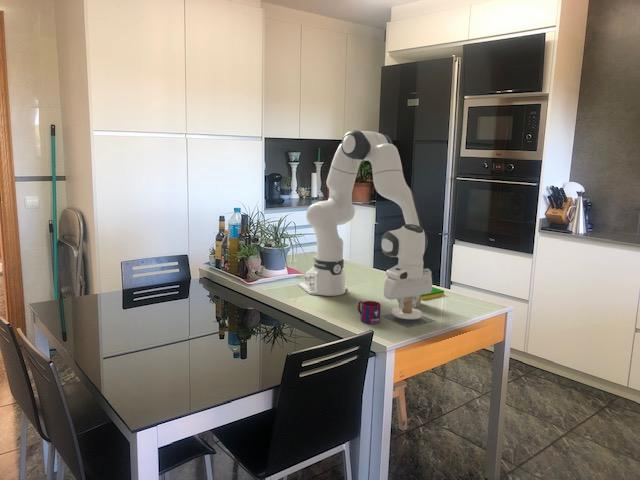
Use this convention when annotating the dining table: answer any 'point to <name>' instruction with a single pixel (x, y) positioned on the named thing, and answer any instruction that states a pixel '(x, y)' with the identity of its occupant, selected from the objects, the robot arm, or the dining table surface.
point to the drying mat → (408, 320)
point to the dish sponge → (433, 294)
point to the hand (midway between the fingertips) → (407, 307)
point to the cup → (370, 312)
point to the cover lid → (407, 311)
